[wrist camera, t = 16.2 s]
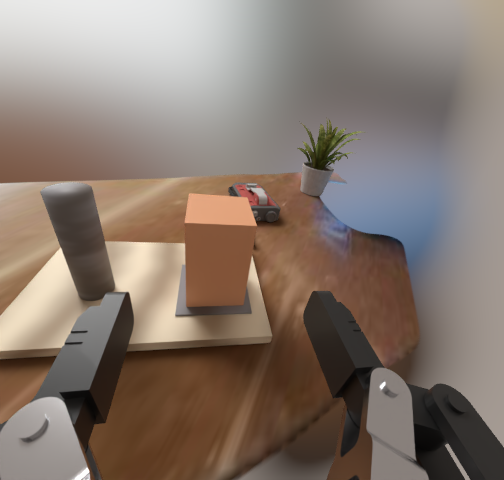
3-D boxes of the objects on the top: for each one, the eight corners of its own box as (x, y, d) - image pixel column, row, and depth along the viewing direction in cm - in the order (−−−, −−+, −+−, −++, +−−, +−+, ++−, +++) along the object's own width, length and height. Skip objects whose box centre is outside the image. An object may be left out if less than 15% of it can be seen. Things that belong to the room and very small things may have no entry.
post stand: (-25, 360, 17) (-144, 229, 11) (69, 247, 28) (36, 153, 22) (270, 342, 21) (300, 242, 15) (248, 251, 33) (261, 173, 27)
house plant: (358, 204, 54) (390, 127, 46) (312, 209, 48) (339, 121, 39) (318, 182, 65) (338, 116, 56) (276, 183, 59) (291, 109, 50)
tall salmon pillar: (186, 306, 22) (184, 222, 17) (189, 268, 26) (189, 193, 21) (243, 305, 23) (257, 225, 18) (237, 269, 27) (247, 197, 23)
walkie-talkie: (218, 194, 49) (243, 250, 34) (220, 173, 47) (247, 224, 31) (257, 194, 52) (297, 247, 36) (261, 175, 50) (305, 222, 34)
